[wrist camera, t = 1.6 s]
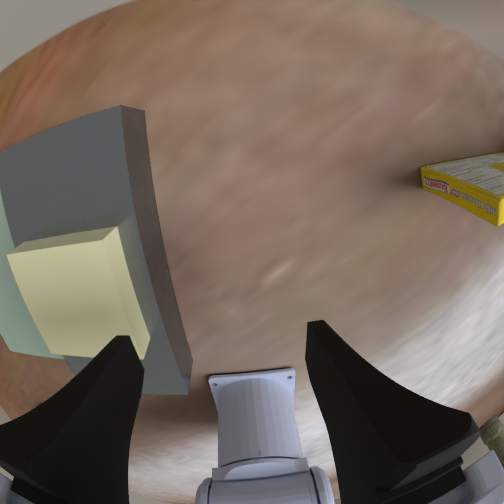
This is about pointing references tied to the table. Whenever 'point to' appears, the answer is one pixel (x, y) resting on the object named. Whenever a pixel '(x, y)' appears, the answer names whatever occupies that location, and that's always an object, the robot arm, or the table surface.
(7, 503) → the robot arm
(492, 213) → the candy box
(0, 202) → the rubber mat
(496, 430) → the thermos
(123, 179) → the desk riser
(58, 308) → the sticky-note pad
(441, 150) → the table surface
